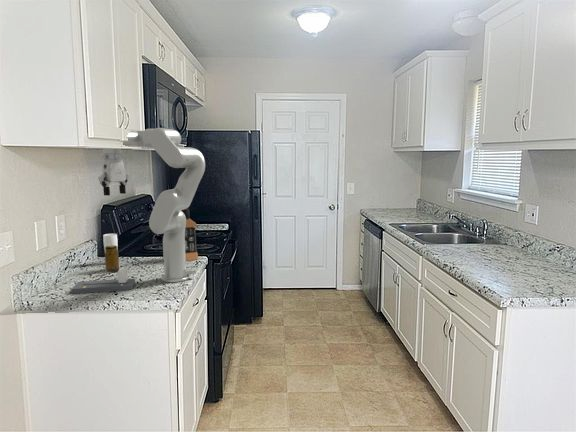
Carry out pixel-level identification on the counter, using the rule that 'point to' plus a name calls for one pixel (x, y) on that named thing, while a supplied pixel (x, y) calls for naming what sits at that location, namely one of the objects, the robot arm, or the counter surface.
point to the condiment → (111, 259)
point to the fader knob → (122, 276)
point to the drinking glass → (110, 240)
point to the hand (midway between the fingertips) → (115, 194)
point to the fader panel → (102, 286)
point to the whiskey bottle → (190, 238)
